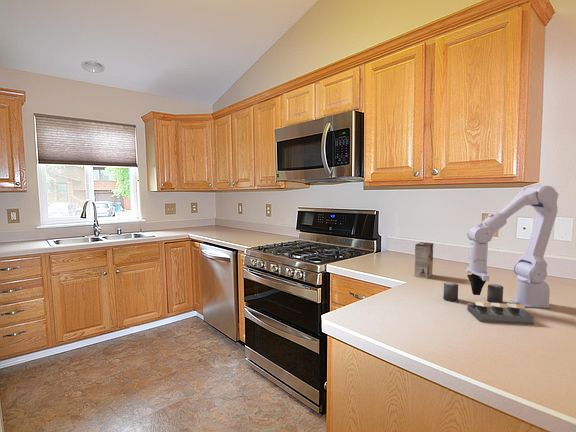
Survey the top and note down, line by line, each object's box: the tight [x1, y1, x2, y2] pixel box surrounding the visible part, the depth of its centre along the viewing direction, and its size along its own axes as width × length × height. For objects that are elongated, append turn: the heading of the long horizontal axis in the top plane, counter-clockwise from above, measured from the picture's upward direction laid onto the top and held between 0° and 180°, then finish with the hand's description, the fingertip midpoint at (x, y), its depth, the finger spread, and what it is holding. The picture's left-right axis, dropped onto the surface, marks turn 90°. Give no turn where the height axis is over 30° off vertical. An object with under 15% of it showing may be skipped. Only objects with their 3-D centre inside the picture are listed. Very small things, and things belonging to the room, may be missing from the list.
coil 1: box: [442, 281, 459, 303], centre depth 127 cm, size 5×5×6 cm
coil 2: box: [486, 283, 504, 304], centre depth 125 cm, size 5×5×6 cm
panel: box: [466, 302, 535, 325], centre depth 110 cm, size 16×10×3 cm, turn 82°
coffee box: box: [414, 241, 435, 279], centre depth 162 cm, size 9×6×16 cm
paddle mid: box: [491, 302, 508, 308], centre depth 110 cm, size 6×2×1 cm, turn 172°
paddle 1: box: [475, 301, 491, 307], centre depth 111 cm, size 6×2×1 cm, turn 172°
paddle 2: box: [506, 302, 526, 309], centre depth 110 cm, size 6×2×1 cm, turn 172°
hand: (476, 294), depth 123 cm, fingers closed
